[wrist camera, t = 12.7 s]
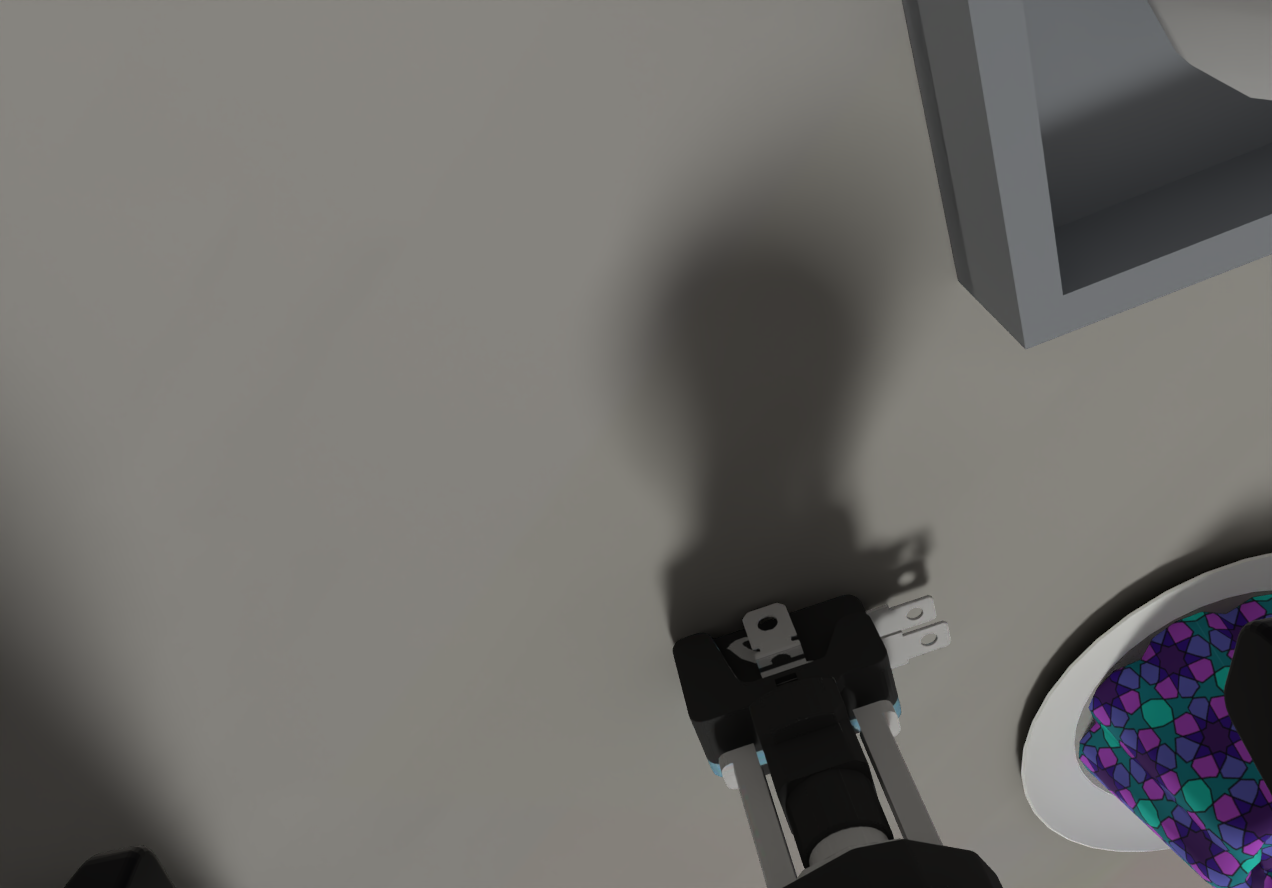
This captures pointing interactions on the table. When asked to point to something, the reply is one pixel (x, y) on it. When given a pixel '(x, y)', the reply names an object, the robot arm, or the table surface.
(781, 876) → the push button
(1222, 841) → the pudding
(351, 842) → the table surface
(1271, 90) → the salt shaker
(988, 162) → the grey tray
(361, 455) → the table surface
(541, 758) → the table surface
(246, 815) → the table surface
